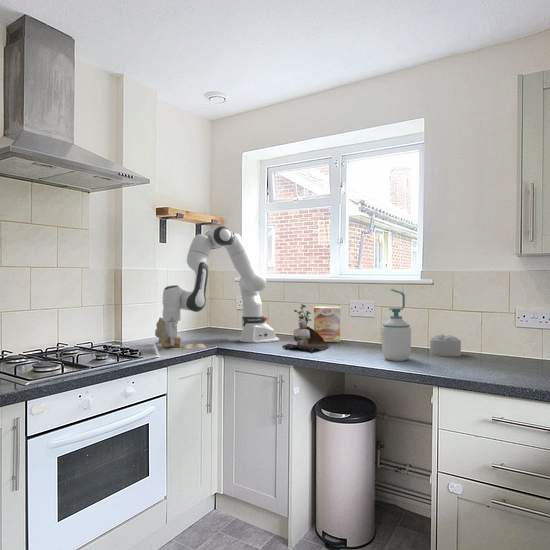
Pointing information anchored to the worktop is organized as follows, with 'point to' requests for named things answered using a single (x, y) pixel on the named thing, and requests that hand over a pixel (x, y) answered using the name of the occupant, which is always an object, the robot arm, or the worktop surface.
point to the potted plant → (306, 335)
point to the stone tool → (161, 330)
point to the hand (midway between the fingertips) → (171, 344)
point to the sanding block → (166, 342)
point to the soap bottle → (396, 336)
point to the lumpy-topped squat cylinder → (445, 346)
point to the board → (186, 346)
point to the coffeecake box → (328, 323)
